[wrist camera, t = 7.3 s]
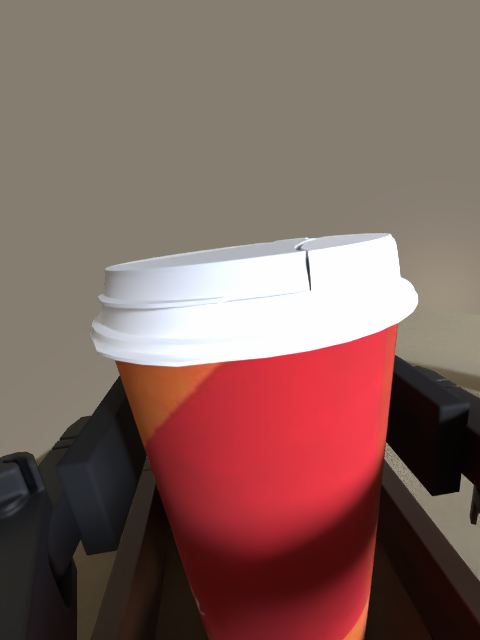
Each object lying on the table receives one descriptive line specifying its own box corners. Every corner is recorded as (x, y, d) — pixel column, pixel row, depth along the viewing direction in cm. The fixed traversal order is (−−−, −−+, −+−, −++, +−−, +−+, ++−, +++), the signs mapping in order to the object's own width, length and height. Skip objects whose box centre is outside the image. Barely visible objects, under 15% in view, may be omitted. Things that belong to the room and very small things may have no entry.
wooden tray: (37, 1098, 5) (-39, 1052, 4) (158, 507, 16) (145, 457, 15) (641, 933, 6) (697, 857, 5) (357, 473, 17) (357, 423, 16)
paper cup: (251, 498, 16) (216, 246, 12) (407, 573, 12) (428, 223, 8) (137, 671, 10) (-2, 279, 6) (372, 948, 6) (391, 261, 2)
